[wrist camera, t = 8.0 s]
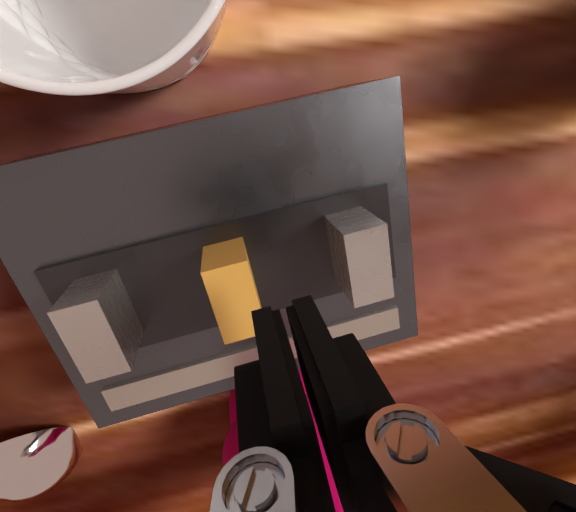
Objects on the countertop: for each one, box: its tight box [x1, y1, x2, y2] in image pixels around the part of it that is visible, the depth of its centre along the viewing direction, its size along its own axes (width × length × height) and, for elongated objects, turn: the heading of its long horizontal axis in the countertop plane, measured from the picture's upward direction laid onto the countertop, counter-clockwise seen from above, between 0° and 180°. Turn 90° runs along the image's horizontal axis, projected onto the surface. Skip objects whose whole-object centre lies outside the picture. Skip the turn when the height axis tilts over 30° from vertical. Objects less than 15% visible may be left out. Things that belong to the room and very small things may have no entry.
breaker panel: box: [0, 76, 418, 428], centre depth 16 cm, size 16×12×8 cm
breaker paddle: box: [200, 237, 261, 345], centre depth 14 cm, size 2×3×2 cm, turn 12°
